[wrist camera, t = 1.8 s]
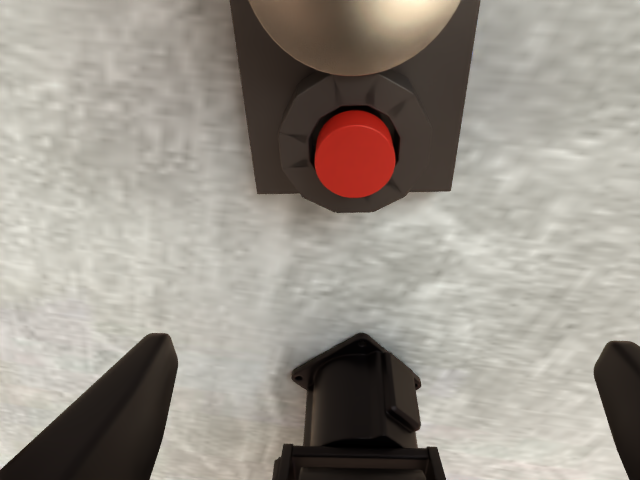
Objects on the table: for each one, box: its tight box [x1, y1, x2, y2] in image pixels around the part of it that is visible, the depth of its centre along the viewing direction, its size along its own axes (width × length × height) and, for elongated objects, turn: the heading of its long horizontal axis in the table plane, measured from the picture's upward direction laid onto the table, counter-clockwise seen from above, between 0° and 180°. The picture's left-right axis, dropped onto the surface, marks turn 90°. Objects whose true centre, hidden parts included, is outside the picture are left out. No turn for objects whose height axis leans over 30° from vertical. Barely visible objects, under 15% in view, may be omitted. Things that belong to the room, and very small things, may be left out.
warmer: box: [230, 0, 480, 213], centre depth 17 cm, size 13×9×3 cm
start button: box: [315, 110, 395, 198], centre depth 17 cm, size 3×3×2 cm
